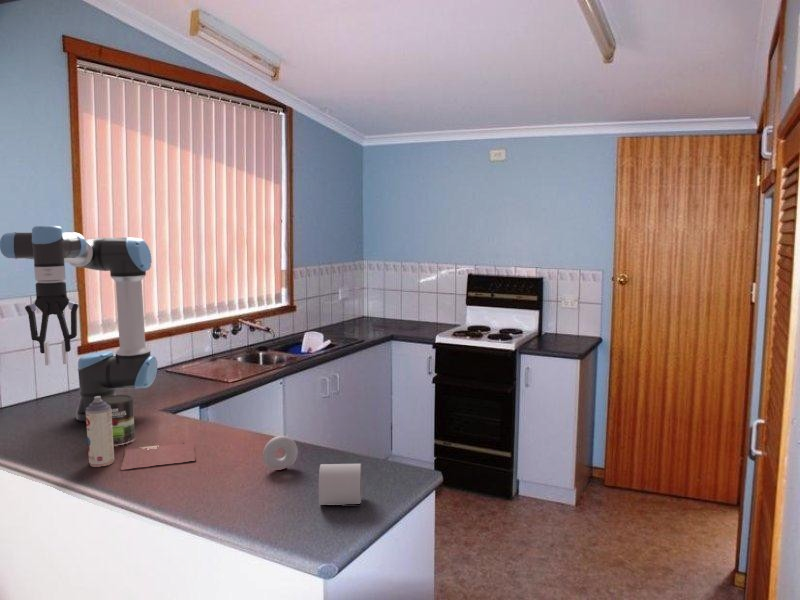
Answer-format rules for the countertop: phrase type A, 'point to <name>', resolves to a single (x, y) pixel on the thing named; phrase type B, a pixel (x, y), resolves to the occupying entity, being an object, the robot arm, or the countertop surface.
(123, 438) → the coffee can
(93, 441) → the aerosol can
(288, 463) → the donut
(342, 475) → the toilet paper
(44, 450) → the countertop surface
